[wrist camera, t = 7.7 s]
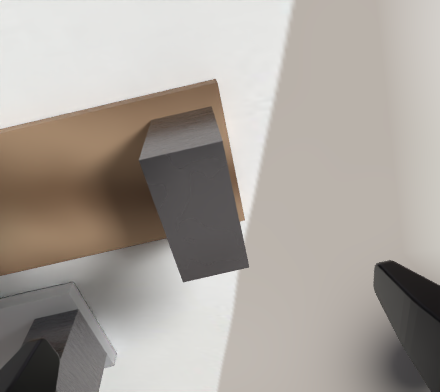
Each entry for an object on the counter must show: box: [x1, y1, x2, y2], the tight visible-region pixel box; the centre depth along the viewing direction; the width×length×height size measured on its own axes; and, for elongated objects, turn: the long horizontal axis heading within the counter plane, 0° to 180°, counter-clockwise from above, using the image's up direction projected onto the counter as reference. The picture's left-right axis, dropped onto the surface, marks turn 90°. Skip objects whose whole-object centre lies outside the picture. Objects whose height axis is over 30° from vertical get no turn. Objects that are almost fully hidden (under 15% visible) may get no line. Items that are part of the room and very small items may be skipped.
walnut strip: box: [0, 79, 249, 282], centre depth 15 cm, size 8×21×6 cm, turn 102°
